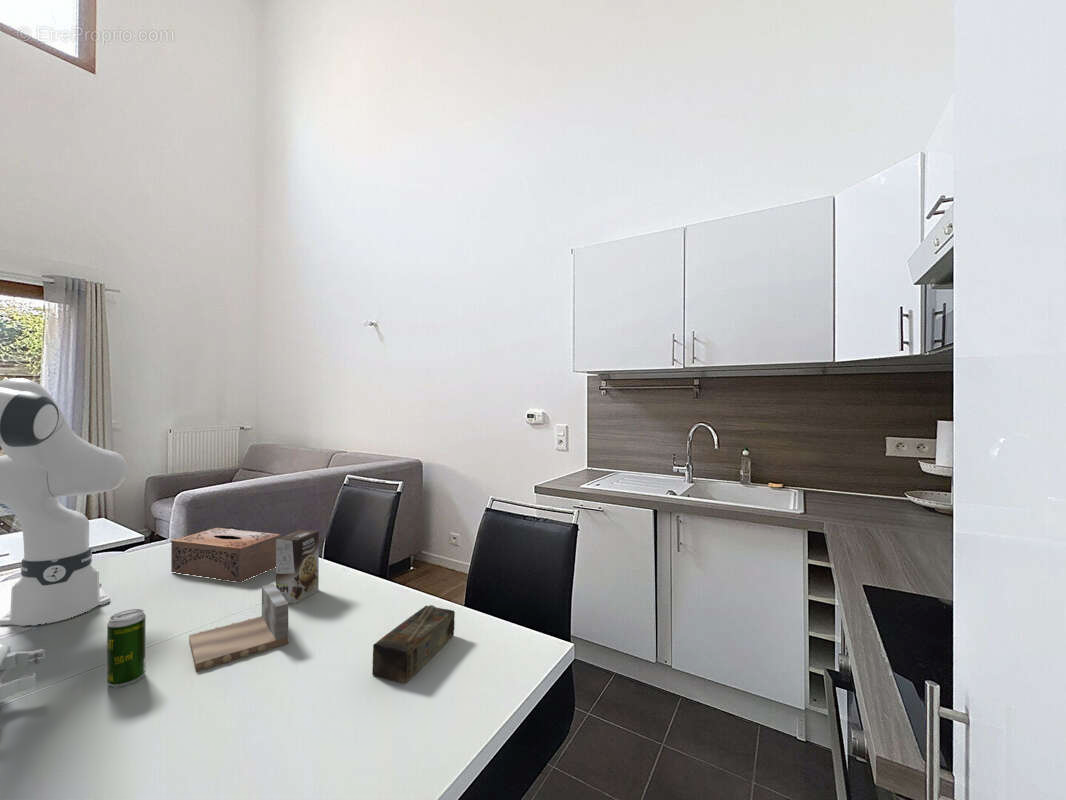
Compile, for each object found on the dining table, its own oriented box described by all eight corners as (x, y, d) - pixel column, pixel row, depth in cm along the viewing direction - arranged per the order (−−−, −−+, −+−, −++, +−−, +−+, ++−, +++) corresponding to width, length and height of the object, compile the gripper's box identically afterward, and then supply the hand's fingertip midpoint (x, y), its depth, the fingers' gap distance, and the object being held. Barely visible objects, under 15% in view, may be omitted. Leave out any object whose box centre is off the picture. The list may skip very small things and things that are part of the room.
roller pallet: (189, 641, 100) (189, 601, 100) (273, 619, 111) (273, 583, 111) (196, 672, 89) (196, 627, 89) (288, 644, 100) (288, 604, 100)
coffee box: (296, 604, 119) (296, 540, 119) (274, 601, 120) (274, 538, 120) (319, 589, 128) (320, 530, 128) (299, 587, 129) (299, 529, 129)
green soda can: (141, 668, 91) (142, 605, 91) (148, 678, 87) (148, 614, 87) (104, 680, 86) (104, 615, 86) (109, 692, 83) (110, 624, 83)
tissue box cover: (280, 566, 146) (281, 534, 146) (240, 584, 132) (240, 548, 132) (216, 558, 153) (216, 527, 153) (171, 574, 139) (171, 540, 139)
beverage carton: (456, 636, 104) (456, 606, 104) (406, 687, 85) (406, 651, 85) (425, 630, 106) (425, 601, 106) (369, 678, 88) (369, 643, 88)
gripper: (-122, 715, 63) (29, 676, 72) (-71, 651, 78) (48, 625, 87) (-122, 762, 63) (29, 717, 72) (-71, 689, 78) (48, 659, 87)
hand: (40, 666), depth 80 cm, fingers open, 8 cm apart
